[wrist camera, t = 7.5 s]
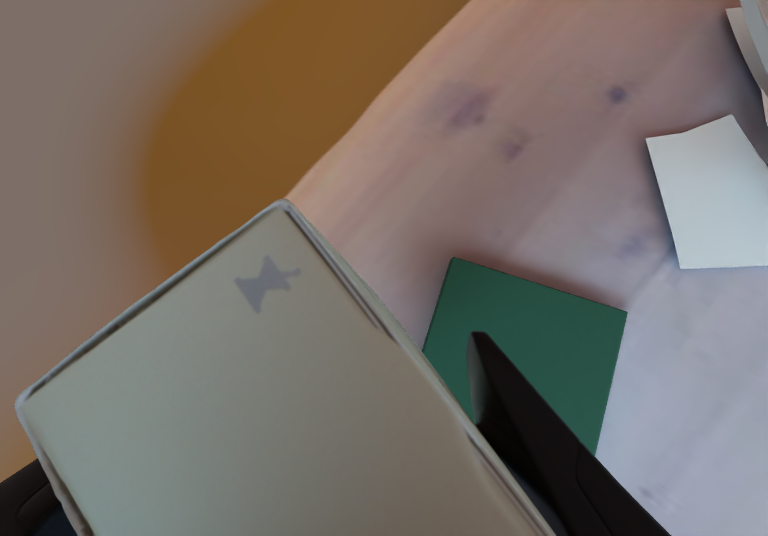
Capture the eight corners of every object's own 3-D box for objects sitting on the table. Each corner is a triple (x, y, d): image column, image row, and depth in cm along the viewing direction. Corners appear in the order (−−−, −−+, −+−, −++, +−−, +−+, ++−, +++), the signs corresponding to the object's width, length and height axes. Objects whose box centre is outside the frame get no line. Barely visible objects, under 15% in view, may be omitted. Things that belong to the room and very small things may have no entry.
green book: (544, 625, 18) (553, 644, 17) (360, 548, 20) (357, 562, 18) (617, 312, 21) (629, 312, 20) (450, 258, 22) (453, 256, 21)
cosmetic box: (300, 332, 16) (-23, 382, 4) (366, 280, 16) (270, 167, 4) (376, 438, 15) (279, 996, 3) (445, 381, 15) (643, 647, 3)
